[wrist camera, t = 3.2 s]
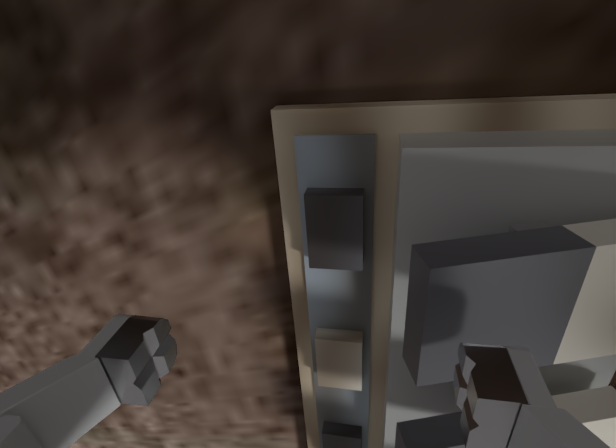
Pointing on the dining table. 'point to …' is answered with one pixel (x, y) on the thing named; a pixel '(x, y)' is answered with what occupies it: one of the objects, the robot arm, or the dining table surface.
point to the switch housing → (490, 228)
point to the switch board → (368, 234)
